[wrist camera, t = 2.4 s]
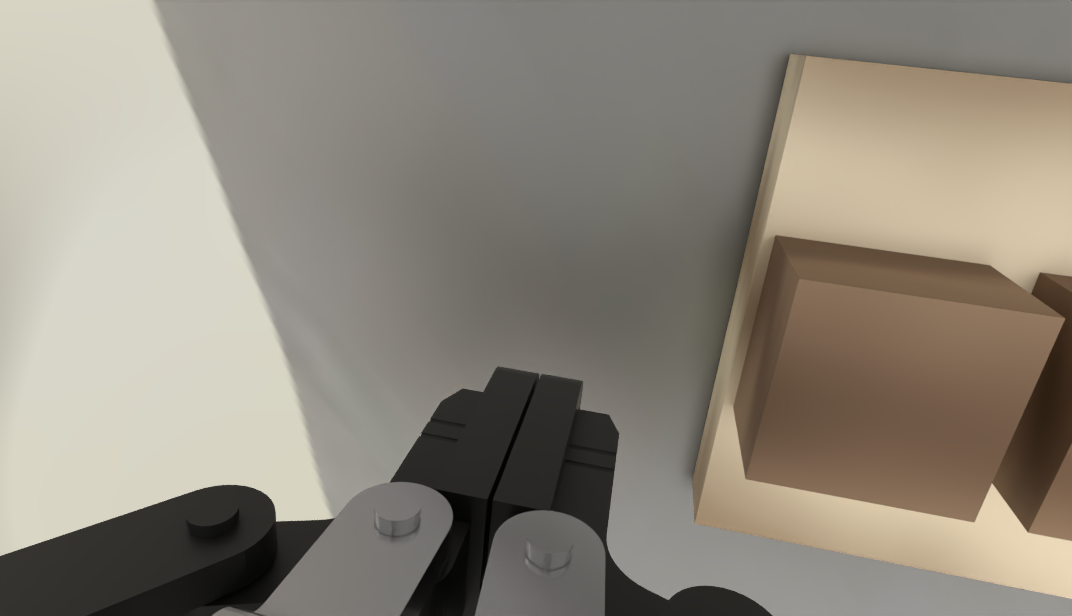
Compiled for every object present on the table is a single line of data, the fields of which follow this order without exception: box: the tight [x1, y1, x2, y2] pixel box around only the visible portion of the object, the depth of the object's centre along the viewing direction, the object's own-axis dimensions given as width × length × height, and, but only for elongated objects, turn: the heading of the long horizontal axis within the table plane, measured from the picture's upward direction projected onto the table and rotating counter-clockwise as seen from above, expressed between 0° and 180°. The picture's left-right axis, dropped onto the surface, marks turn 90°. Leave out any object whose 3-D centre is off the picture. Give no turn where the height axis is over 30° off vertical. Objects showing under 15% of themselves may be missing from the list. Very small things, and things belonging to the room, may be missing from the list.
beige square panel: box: [692, 54, 1072, 599], centre depth 16 cm, size 12×14×2 cm
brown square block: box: [733, 235, 1065, 522], centre depth 14 cm, size 4×4×3 cm
